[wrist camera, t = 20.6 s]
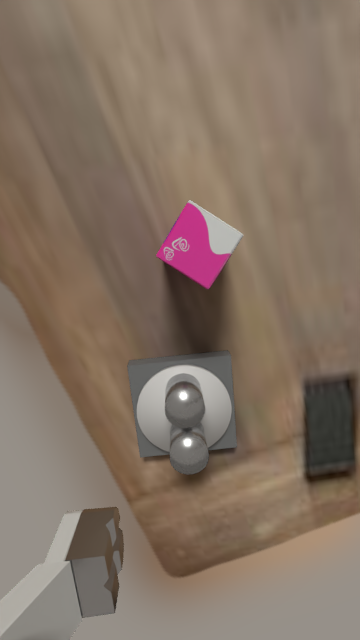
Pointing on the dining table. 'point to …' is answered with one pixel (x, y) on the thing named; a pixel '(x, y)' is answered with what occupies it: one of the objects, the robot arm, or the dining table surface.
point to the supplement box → (199, 245)
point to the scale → (150, 399)
